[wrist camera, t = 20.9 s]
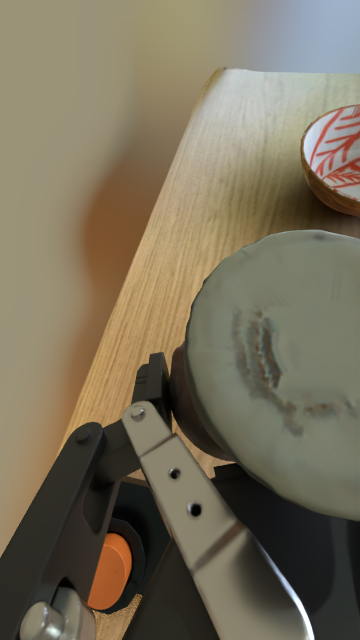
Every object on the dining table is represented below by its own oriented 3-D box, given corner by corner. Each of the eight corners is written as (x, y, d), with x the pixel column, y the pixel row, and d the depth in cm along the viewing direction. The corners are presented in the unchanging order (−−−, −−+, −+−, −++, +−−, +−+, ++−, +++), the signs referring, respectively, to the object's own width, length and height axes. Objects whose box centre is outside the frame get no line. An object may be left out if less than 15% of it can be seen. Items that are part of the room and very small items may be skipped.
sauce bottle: (170, 410, 21) (-33, 450, 3) (196, 351, 23) (173, 141, 5) (236, 443, 20) (696, 969, 1) (257, 378, 22) (587, 225, 3)
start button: (82, 584, 24) (71, 602, 22) (95, 527, 26) (86, 539, 24) (126, 597, 24) (118, 617, 22) (136, 538, 25) (130, 551, 23)
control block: (60, 567, 28) (38, 593, 24) (86, 467, 32) (71, 475, 28) (169, 600, 26) (164, 633, 22) (183, 489, 30) (181, 501, 26)
